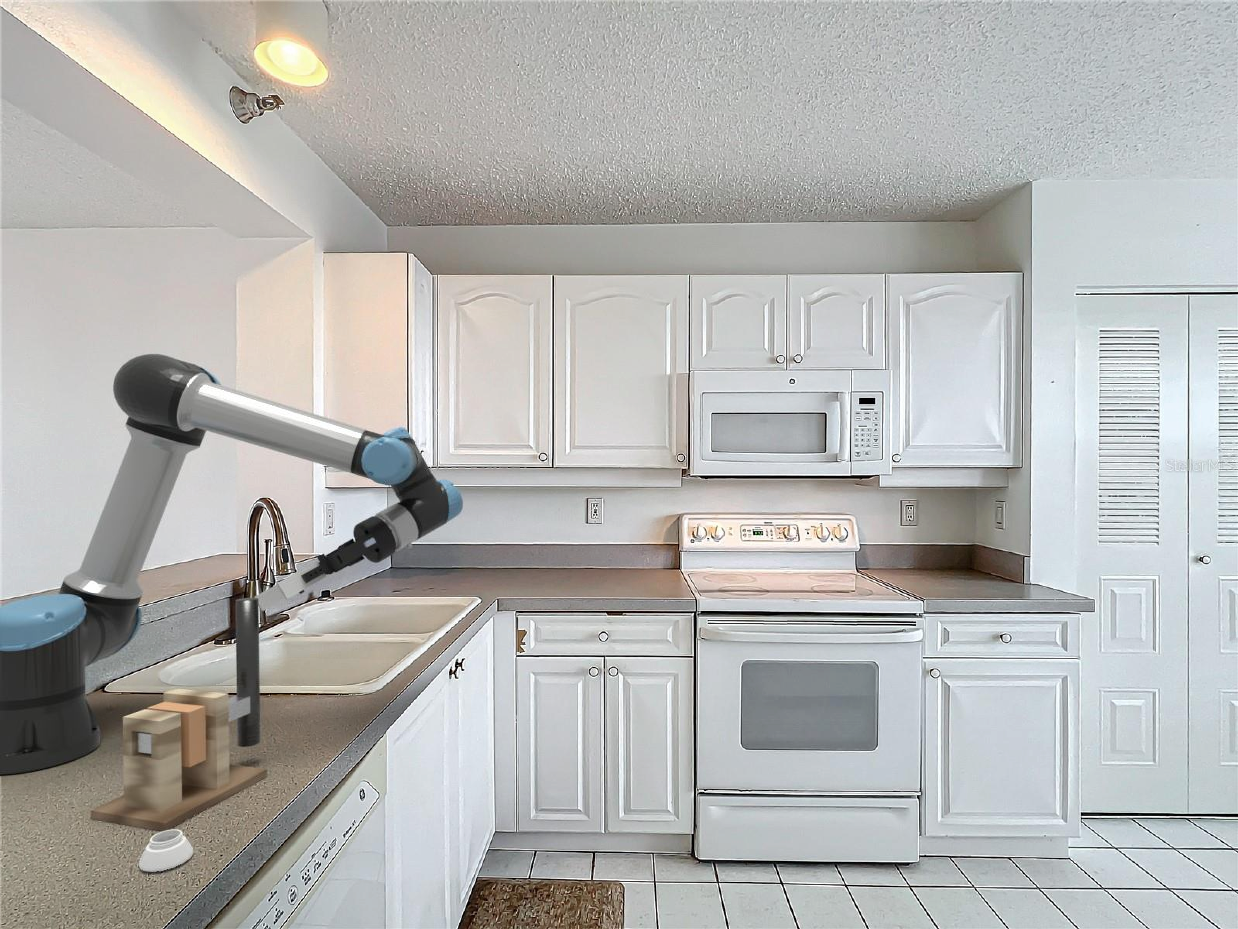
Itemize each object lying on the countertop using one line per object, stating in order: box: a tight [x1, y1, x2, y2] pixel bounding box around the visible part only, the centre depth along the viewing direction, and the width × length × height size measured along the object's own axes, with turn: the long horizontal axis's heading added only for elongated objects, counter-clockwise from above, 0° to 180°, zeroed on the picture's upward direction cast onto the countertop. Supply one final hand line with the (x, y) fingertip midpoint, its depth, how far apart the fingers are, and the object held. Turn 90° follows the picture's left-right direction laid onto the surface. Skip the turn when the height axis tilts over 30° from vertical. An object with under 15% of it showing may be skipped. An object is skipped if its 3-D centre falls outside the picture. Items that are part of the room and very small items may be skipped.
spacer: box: [147, 701, 206, 767], centre depth 96 cm, size 7×2×7 cm, turn 73°
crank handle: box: [138, 597, 261, 754], centre depth 100 cm, size 3×18×21 cm, turn 163°
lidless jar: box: [138, 828, 194, 873], centre depth 80 cm, size 5×3×5 cm
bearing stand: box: [90, 688, 268, 832], centre depth 96 cm, size 12×16×13 cm
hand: (269, 598), depth 113 cm, fingers open, 13 cm apart
